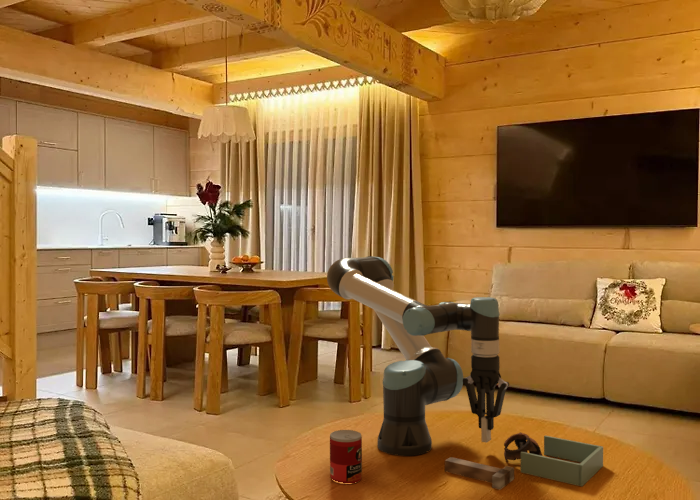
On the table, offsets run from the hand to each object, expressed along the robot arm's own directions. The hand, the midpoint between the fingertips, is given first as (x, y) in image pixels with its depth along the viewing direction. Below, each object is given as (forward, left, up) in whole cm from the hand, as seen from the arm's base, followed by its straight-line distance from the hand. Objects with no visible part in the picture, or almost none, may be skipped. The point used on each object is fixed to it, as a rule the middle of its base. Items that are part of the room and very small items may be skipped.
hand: (486, 440), depth 177 cm
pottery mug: (+10, 0, -4) cm, 11 cm away
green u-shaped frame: (+21, 0, -3) cm, 21 cm away
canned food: (-19, -37, -3) cm, 42 cm away
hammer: (+6, -17, -3) cm, 19 cm away
